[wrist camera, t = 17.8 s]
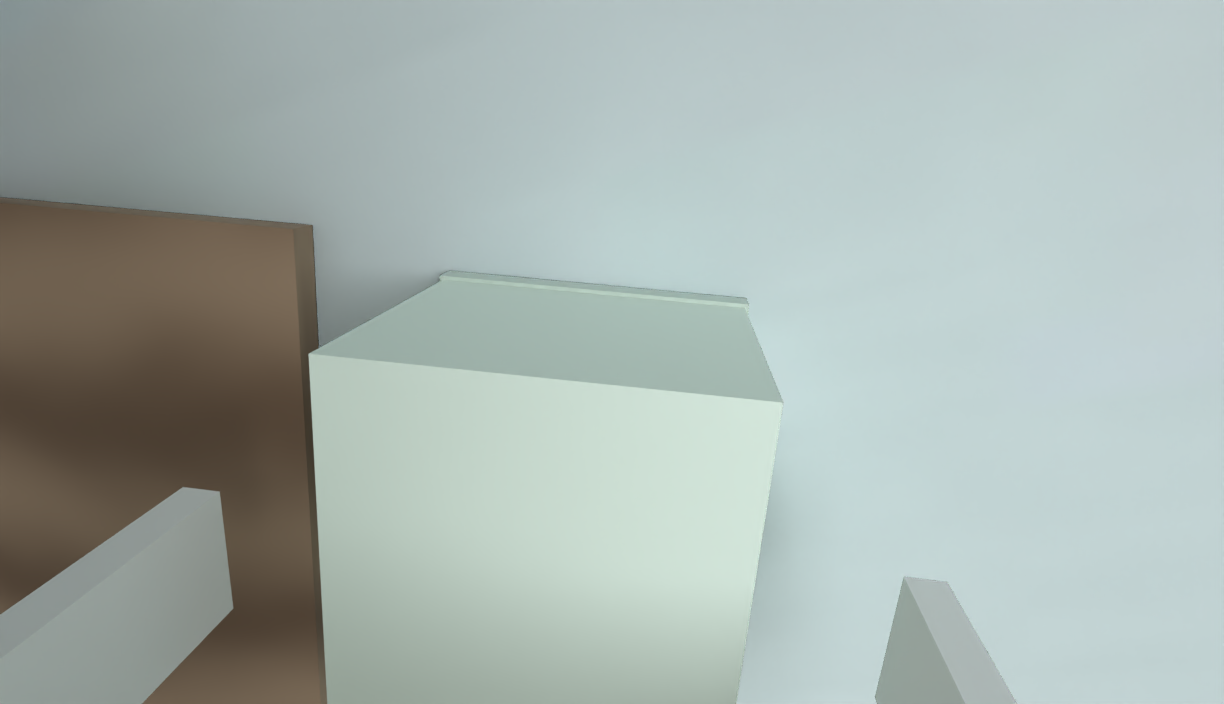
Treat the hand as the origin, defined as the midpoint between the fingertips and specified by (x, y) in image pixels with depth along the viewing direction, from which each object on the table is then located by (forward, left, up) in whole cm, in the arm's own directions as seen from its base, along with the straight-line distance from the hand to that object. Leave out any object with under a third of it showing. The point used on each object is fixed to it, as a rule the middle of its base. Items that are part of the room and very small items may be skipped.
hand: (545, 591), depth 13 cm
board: (+6, -16, -7) cm, 19 cm away
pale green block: (0, 0, -8) cm, 8 cm away
